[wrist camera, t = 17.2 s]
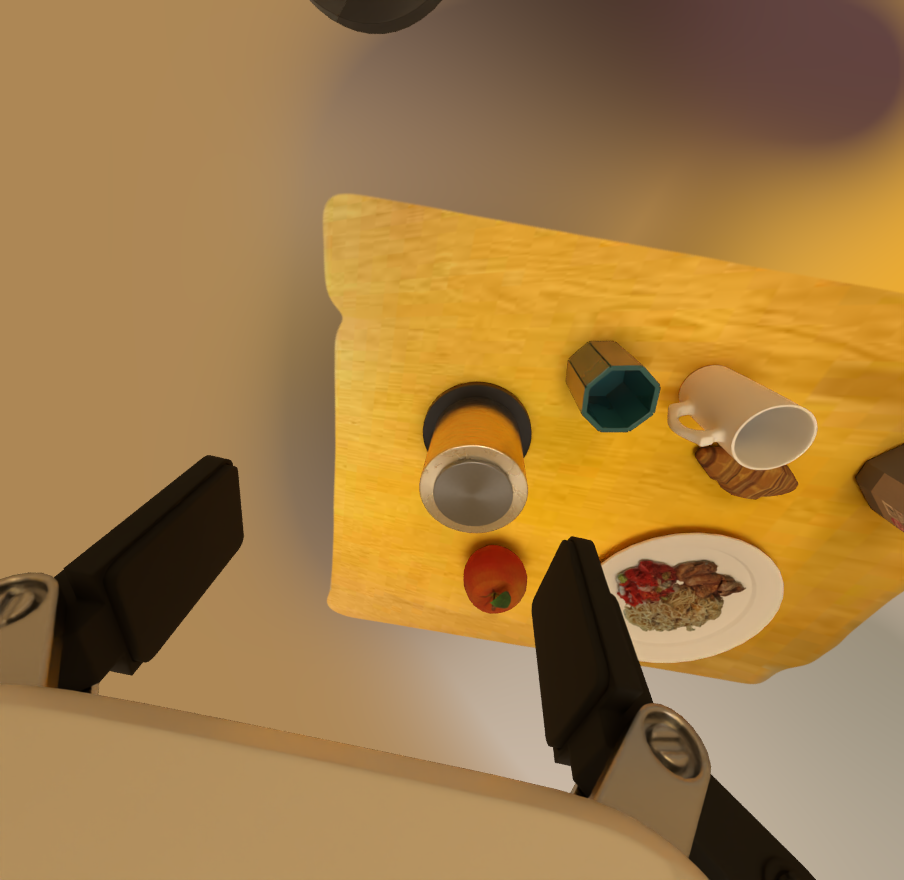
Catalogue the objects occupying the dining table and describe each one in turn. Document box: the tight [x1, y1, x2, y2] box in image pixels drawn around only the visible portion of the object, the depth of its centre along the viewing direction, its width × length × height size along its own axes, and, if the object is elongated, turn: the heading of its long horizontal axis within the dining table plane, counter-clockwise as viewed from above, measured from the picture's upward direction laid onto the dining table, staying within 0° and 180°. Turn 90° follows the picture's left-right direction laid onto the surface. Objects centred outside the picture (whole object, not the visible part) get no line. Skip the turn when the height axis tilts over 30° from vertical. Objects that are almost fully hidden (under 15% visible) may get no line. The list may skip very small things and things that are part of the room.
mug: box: [668, 365, 817, 470], centre depth 39 cm, size 10×7×12 cm, turn 104°
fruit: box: [464, 545, 527, 613], centre depth 56 cm, size 10×10×10 cm
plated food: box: [601, 533, 784, 663], centre depth 60 cm, size 30×30×3 cm
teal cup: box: [566, 341, 661, 432], centre depth 40 cm, size 7×7×9 cm
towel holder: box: [419, 382, 531, 533], centre depth 44 cm, size 14×14×14 cm
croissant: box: [695, 446, 798, 499], centre depth 47 cm, size 14×7×5 cm, turn 72°
